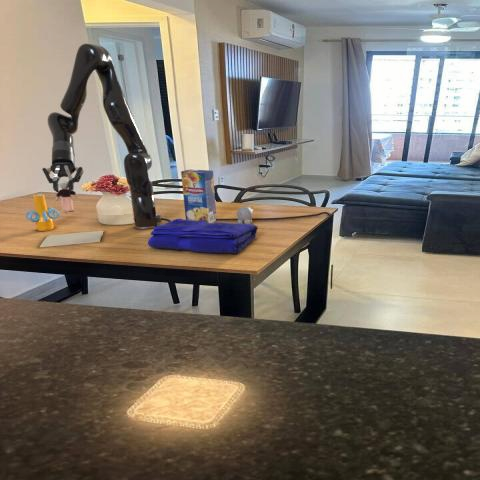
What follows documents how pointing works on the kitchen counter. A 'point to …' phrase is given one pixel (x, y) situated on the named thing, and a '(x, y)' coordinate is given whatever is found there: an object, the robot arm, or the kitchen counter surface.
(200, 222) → the towel
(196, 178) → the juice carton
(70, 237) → the cloth
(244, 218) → the round bodied animal figurine
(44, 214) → the yellow cone toy
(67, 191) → the grandmother figurine
